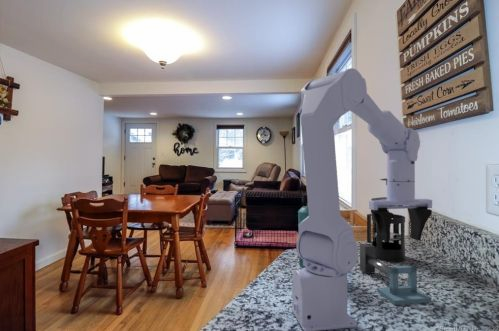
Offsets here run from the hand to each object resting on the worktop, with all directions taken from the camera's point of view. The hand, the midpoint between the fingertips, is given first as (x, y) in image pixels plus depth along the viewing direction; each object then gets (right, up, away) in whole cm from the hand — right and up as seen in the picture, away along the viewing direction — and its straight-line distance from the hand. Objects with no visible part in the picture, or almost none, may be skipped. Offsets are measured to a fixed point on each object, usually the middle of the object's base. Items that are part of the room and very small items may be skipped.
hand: (400, 240), depth 69 cm
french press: (+5, -10, +19) cm, 22 cm away
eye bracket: (-3, -10, -7) cm, 13 cm away
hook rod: (-4, -10, +2) cm, 11 cm away
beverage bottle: (-19, -10, +7) cm, 23 cm away
